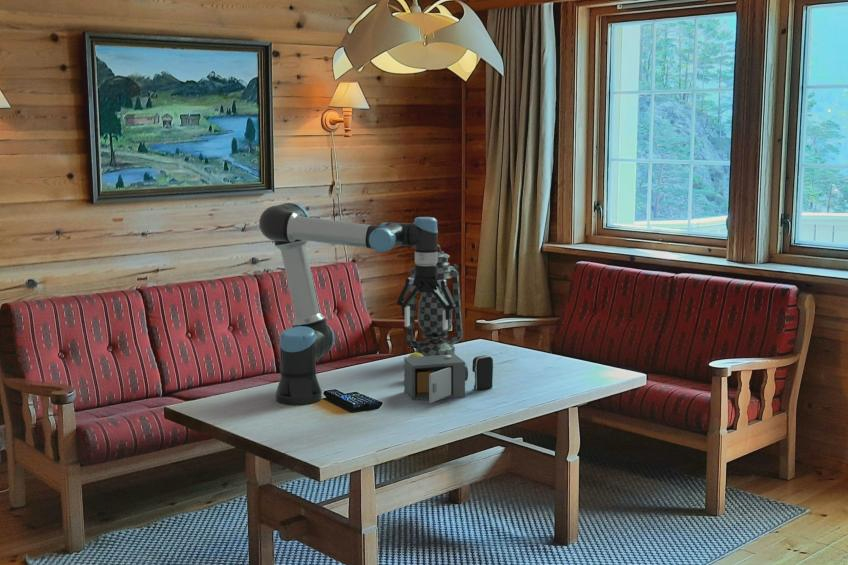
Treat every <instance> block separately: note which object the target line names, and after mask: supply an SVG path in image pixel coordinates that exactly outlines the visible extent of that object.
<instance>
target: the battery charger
mask: <svg viewBox="0 0 848 565" xmlns="http://www.w3.org/2000/svg"><path fill="white" fill-rule="evenodd" d="M471 371H472V372H473V373H474V385H473V389H474V390H476V391H481V390H487V389H491V388H493V387H494V386H493V376H494V375H493V374H494V360H493V357H492V356H490V355H484V354H483V355H479V356H478V355H477V356H475V357H474V358H473V360H472V370H471Z"/></svg>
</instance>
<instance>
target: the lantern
mask: <svg viewBox="0 0 848 565" xmlns="http://www.w3.org/2000/svg"><path fill="white" fill-rule="evenodd" d="M441 247H442V246H440V244H437V248H438V250H439V252H438V251H437V256H438V263H437V264H436V265H437V266H438V275H437V279H438V281H439V280H445V279H446V280H450V279H451V280H452V290H453V291H452V292H453V295H452V296H453V300H454V302H455V304H456V307H455V308H453V309H451V311H450V319H449V320H448V329H446V330H443V310H445V309H444V307H443V306H442V305H441V303H440V302H439V301H438V299H437V298H436V297H435V295H433V294H432V292H431V293H426V292H423V293H422V292H420V294H421V295H420V296H419V298H420V299H419V301H418V306H417V305H416V304H417V295H416V296H415V297H414V298H413V299H412V301H411V302H410V303H409V304H408V306H410V326H408V327H406V328H407V330H406V331H407V333H406V344H407V345H408V346H409V347H410V348H411V349H415V353H421V354H422V355H423V356H435V355H450V354H455V355H456V351H455V350H456V349H455V344H458V343H459V342H460V341H461V339H462V338H463V337H464V336H463V335H464V334H463V333H464V331H463V323H462V322H463V319H462V305H461V304H462V303H461V290H460V289H461V288H460V275H459V274H460V273H459V270H460V266H458V264H456V263H454V264H453V265H450V264H451V263H450V262H448V261H449V258H450V255H449V254H448V253H445V252H444V251H443V250H442V249H441ZM409 270H410V274H411V275H410V277H411V278H412V279H415V267H412V268H410V269H409ZM415 288H416V285H415V284H414V282H413V284H411V286H410V288H409V295H410V294H411V293H412V292H413V290H414V289H415ZM437 288H438V289H439V292H440V293H441V294H442V296H443V297H444V298H445V300H446V301H447V299H446V297H445V295H444V293H443V291H442V288H441V287H440V285H439V284H438V285H437ZM453 310H454V322H455V334H456V336H453V337H450V338H448V337H449V334H448V331H450V329H451V328H452V325H453ZM416 312H417V323H418V328H419V329H420V330H421V331H422V332H423V333H422V334H421V337H422V338H424V339H425V340H424V341H419V340H418V341H417V340H414V337H415V336H414V335H415V322H416V321H415V320H416Z"/></svg>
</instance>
